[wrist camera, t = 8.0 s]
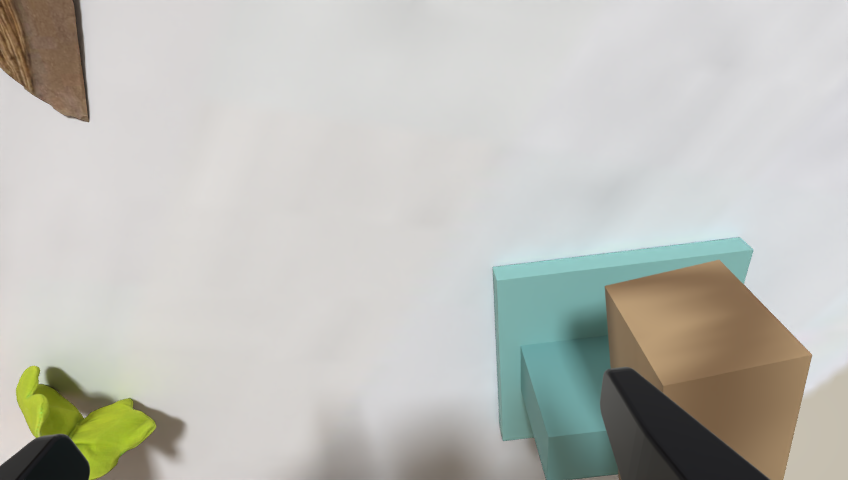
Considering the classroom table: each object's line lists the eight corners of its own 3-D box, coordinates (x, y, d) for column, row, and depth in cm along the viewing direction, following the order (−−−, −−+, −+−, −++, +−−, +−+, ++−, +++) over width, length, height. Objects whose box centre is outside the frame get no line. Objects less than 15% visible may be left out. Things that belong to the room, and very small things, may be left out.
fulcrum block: (739, 237, 22) (842, 329, 17) (695, 402, 28) (761, 507, 23) (492, 267, 22) (522, 367, 17) (499, 425, 28) (523, 535, 23)
